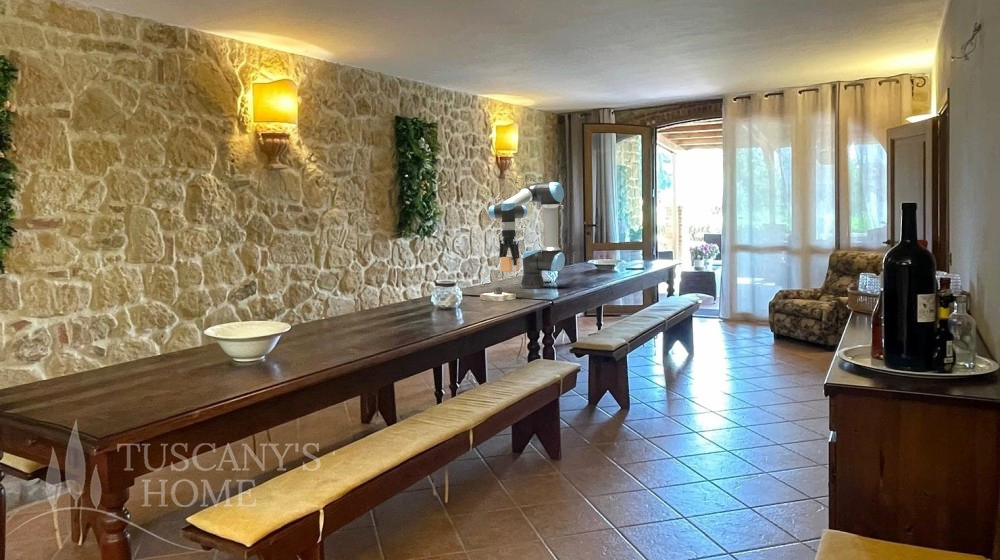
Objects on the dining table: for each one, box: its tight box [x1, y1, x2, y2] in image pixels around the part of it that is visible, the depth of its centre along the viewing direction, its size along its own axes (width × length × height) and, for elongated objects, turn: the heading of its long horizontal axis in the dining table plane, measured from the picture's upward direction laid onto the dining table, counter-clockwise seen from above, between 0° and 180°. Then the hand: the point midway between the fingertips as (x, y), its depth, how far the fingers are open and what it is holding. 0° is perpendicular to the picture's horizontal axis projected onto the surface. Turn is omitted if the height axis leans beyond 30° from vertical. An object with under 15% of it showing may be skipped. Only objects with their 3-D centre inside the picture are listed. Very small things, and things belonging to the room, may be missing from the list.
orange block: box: [500, 255, 520, 273], centre depth 388 cm, size 7×7×8 cm
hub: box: [479, 285, 517, 303], centre depth 386 cm, size 14×14×7 cm
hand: (509, 270), depth 389 cm, fingers closed on orange block, 7 cm apart
